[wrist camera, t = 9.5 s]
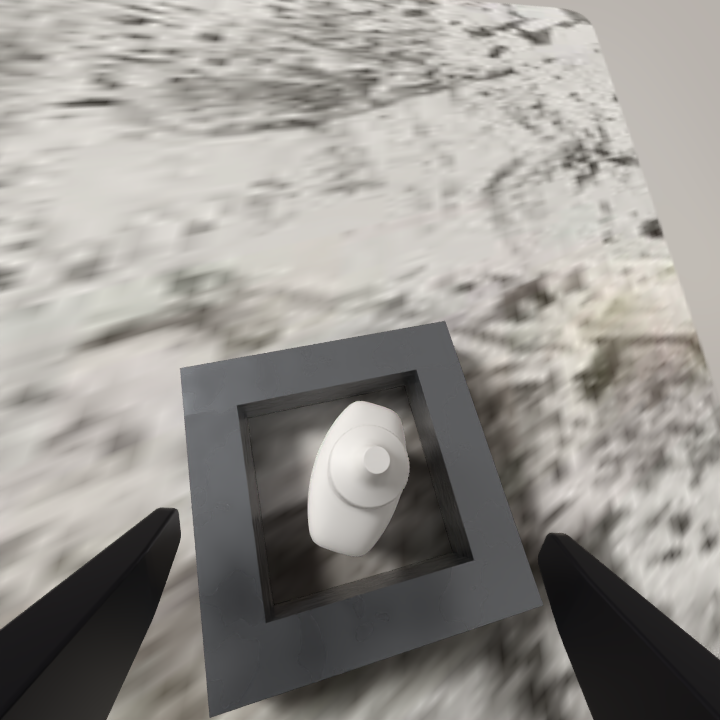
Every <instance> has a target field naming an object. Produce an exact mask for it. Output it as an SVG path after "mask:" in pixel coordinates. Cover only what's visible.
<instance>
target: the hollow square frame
mask: <svg viewBox="0 0 720 720" xmlns="http://www.w3.org/2000/svg"><path fill="white" fill-rule="evenodd" d="M180 372H181V384H182V396H183V408H184V420H185V431H186V443H187V455H188V467H189V479H190V491H191V503H192V514H193V526H194V538H195V550H196V562H197V574H198V585H199V597H200V609H201V621H202V633H203V645H204V657H205V668H206V680H207V692H208V704H209V716H210V718H211V717H214V716H217V715H220V714H223V713H226V712H229V711H232V710H235V709H237V708H240V707H243V706H246V705H249V704H252V703H255V702H258V701H261V700H264V699H267V698H270V697H273V696H276V695H279V694H282V693H285V692H288V691H291V690H294V689H297V688H300V687H303V686H306V685H309V684H312V683H315V682H318V681H321V680H323V679H326V678H329V677H332V676H335V675H338V674H341V673H344V672H347V671H350V670H353V669H356V668H359V667H362V666H365V665H368V664H371V663H374V662H377V661H380V660H383V659H386V658H389V657H392V656H395V655H398V654H401V653H404V652H407V651H409V650H412V649H415V648H418V647H421V646H424V645H427V644H430V643H433V642H436V641H439V640H442V639H445V638H448V637H451V636H454V635H457V634H460V633H463V632H466V631H469V630H472V629H475V628H478V627H481V626H484V625H487V624H490V623H493V622H495V621H498V620H501V619H504V618H507V617H510V616H513V615H516V614H519V613H522V612H525V611H528V610H531V609H534V608H537V607H540V606H543V603H542V600H541V597H540V594H539V591H538V588H537V586H536V583H535V580H534V577H533V574H532V571H531V568H530V565H529V562H528V560H527V557H526V554H525V551H524V548H523V545H522V542H521V539H520V536H519V533H518V531H517V528H516V525H515V522H514V519H513V516H512V513H511V510H510V507H509V505H508V502H507V499H506V496H505V493H504V490H503V487H502V484H501V481H500V479H499V476H498V473H497V470H496V467H495V464H494V461H493V458H492V455H491V453H490V450H489V447H488V444H487V441H486V438H485V435H484V432H483V429H482V426H481V424H480V421H479V418H478V415H477V412H476V409H475V406H474V403H473V400H472V398H471V395H470V392H469V389H468V386H467V383H466V380H465V377H464V374H463V372H462V369H461V366H460V363H459V360H458V357H457V354H456V351H455V348H454V346H453V343H452V340H451V337H450V334H449V331H448V328H447V325H446V322H445V321H442V322H437V323H431V324H426V325H420V326H414V327H409V328H403V329H398V330H392V331H386V332H381V333H375V334H369V335H364V336H358V337H353V338H347V339H341V340H336V341H330V342H325V343H319V344H313V345H308V346H302V347H297V348H291V349H285V350H280V351H274V352H269V353H263V354H257V355H252V356H246V357H241V358H235V359H229V360H224V361H218V362H213V363H207V364H201V365H196V366H190V367H185V368H180ZM400 386H405V388H406V392H407V395H408V399H409V402H410V406H411V409H412V413H413V416H414V420H415V423H416V427H417V430H418V433H419V437H420V440H421V444H422V447H423V451H424V454H425V458H426V461H427V465H428V468H429V472H430V475H431V479H432V482H433V485H434V489H435V492H436V496H437V499H438V503H439V506H440V510H441V513H442V517H443V520H444V524H445V527H446V531H447V534H448V537H449V541H450V544H451V548H452V551H453V552H452V553H449V554H445V555H442V556H439V557H435V558H432V559H429V560H425V561H422V562H418V563H415V564H412V565H408V566H405V567H401V568H398V569H395V570H391V571H388V572H385V573H381V574H378V575H374V576H371V577H368V578H364V579H361V580H357V581H354V582H351V583H347V584H344V585H340V586H337V587H334V588H330V589H327V590H324V591H320V592H317V593H313V594H310V595H307V596H303V597H300V598H296V599H293V600H290V601H286V602H283V603H280V604H276V605H274V603H273V596H272V589H271V582H270V575H269V567H268V560H267V553H266V546H265V539H264V532H263V525H262V518H261V510H260V503H259V496H258V489H257V482H256V475H255V468H254V461H253V454H252V446H251V439H250V432H249V425H248V418H250V417H254V416H259V415H264V414H269V413H274V412H279V411H283V410H288V409H293V408H298V407H303V406H308V405H313V404H317V403H322V402H327V401H332V400H337V399H342V398H346V397H351V396H356V395H361V394H366V393H371V392H376V391H380V390H385V389H390V388H395V387H400Z"/></svg>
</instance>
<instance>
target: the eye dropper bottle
mask: <svg viewBox="0 0 720 720" xmlns="http://www.w3.org/2000/svg"><path fill="white" fill-rule="evenodd" d="M406 451H407V450H406V442H405V434H404V429H403V425H402V422H401V419H400V417H399V416H398V414H397V413H396V412H394V411H393V410H391V409H388V408H386V407H383V406H380V405H376V404H373V403H369V402H365V401H356V402H354V403H352V404H350V405H349V406H348V407H347V408H346V409H345V410H344V411H343V412H342V413H341V414H340V415H339V417H338V418H337V419H336V420H335V422H334V423H333V425H332V426H331V428H330V429H329V431H328V433H327V434H326V436H325V438H324V440H323V442H322V444H321V446H320V449H319V451H318V454H317V456H316V459H315V463H314V466H313V470H312V474H311V479H310V485H309V493H308V525H309V531H310V535H311V537H312V540H313V542H315V543H316V544H317V545H319V546H320V547H323V548H325V549H328V550H331V551H334V552H337V553H341V554H344V555H348V556H352V557H358V556H363V555H364V554H366V553H368V552H369V551H370V550H371V548H372V547H373V546H374V545H375V544H376V542H377V541H378V540H379V538H380V537H381V535H382V534H383V532H384V531H385V529H386V527H387V525H388V524H389V522H390V520H391V518H392V516H393V514H394V512H395V509H396V507H397V504H398V501H399V498H400V495H401V493H402V492H403V491H402V489H405V486H404V485H407V483H406V481H408V478H407V477H409V474H408V473H409V472H410V471H409V468H410V466H409V464H410V462H409V461H408V460H409V458H408V457H407V456H408V454H407V453H406Z"/></svg>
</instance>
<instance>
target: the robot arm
mask: <svg viewBox="0 0 720 720" xmlns="http://www.w3.org/2000/svg"><path fill="white" fill-rule="evenodd" d="M180 538H181V530H180V521H179V513H178V510H177V509H175V508H158V509H156V510H155V511H153V512H152V513H151V514H150V515H148V516H147V517H146V518H144V519H143V520H142V521H140V522H139V523H138V524H137V525H135V526H134V527H133V528H131V529H130V530H129V531H127V532H126V533H125V534H124V535H122V536H121V537H120V538H118V539H117V540H116V541H115V542H113V543H112V544H111V545H109V546H108V547H107V548H105V549H104V550H103V551H102V552H100V553H99V554H98V555H96V556H95V557H94V558H92V559H91V560H90V561H89V562H87V563H86V564H85V565H83V566H82V567H81V568H79V569H78V570H77V571H76V572H74V573H73V574H72V575H70V576H69V577H68V578H67V579H65V580H64V581H63V582H61V583H60V584H59V585H57V586H56V587H55V588H54V589H52V590H51V591H50V592H48V593H47V594H46V595H44V596H43V597H42V598H41V599H39V600H38V601H37V602H35V603H34V604H33V605H32V606H30V607H29V608H28V609H26V610H25V611H24V612H22V613H21V614H20V615H19V616H17V617H16V618H15V619H13V620H12V621H11V622H9V623H8V624H7V625H6V626H4V627H3V628H2V629H0V720H106V719H107V717H108V715H109V713H110V711H111V709H112V706H113V704H114V702H115V700H116V698H117V696H118V693H119V691H120V689H121V687H122V685H123V683H124V680H125V678H126V676H127V674H128V672H129V670H130V667H131V665H132V663H133V661H134V659H135V657H136V654H137V652H138V650H139V648H140V646H141V643H142V641H143V639H144V637H145V635H146V633H147V630H148V628H149V626H150V624H151V621H152V619H153V617H154V615H155V612H156V609H157V607H158V604H159V601H160V598H161V595H162V592H163V589H164V587H165V584H166V581H167V578H168V575H169V572H170V569H171V566H172V564H173V561H174V558H175V555H176V552H177V549H178V546H179V543H180ZM538 565H539V569H540V572H541V575H542V579H543V582H544V585H545V589H546V592H547V595H548V599H549V602H550V605H551V609H552V612H553V615H554V619H555V622H556V625H557V628H558V631H559V634H560V636H561V639H562V642H563V644H564V647H565V649H566V652H567V654H568V657H569V659H570V662H571V664H572V667H573V669H574V672H575V674H576V677H577V679H578V682H579V684H580V687H581V689H582V692H583V694H584V697H585V700H586V702H587V705H588V707H589V710H590V712H591V715H592V717H593V720H720V660H719V659H718V658H717V657H716V656H714V655H713V654H712V653H711V652H710V651H708V650H707V649H706V648H705V647H703V646H702V645H701V644H700V643H699V642H697V641H696V640H695V639H694V638H693V637H691V636H690V635H689V634H688V633H686V632H685V631H684V630H683V629H682V628H680V627H679V626H678V625H677V624H675V623H674V622H673V621H672V620H671V619H669V618H668V617H667V616H666V615H665V614H663V613H662V612H661V611H660V610H658V609H657V608H656V607H655V606H654V605H652V604H651V603H650V602H649V601H647V600H646V599H645V598H644V597H643V596H641V595H640V594H639V593H638V592H637V591H635V590H634V589H633V588H632V587H630V586H629V585H628V584H627V583H626V582H624V581H623V580H622V579H621V578H619V577H618V576H617V575H616V574H615V573H613V572H612V571H611V570H610V569H609V568H607V567H606V566H605V565H604V564H602V563H601V562H600V561H599V560H598V559H596V558H595V557H594V556H593V555H591V554H590V553H589V552H588V551H587V550H585V549H584V548H583V547H582V546H581V545H579V544H578V543H577V542H576V541H574V540H573V539H572V538H571V537H569V536H568V535H566V534H563V533H549V534H548V535H547V536H546V538H545V541H544V543H543V545H542V548H541V550H540V552H539V555H538Z"/></svg>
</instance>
